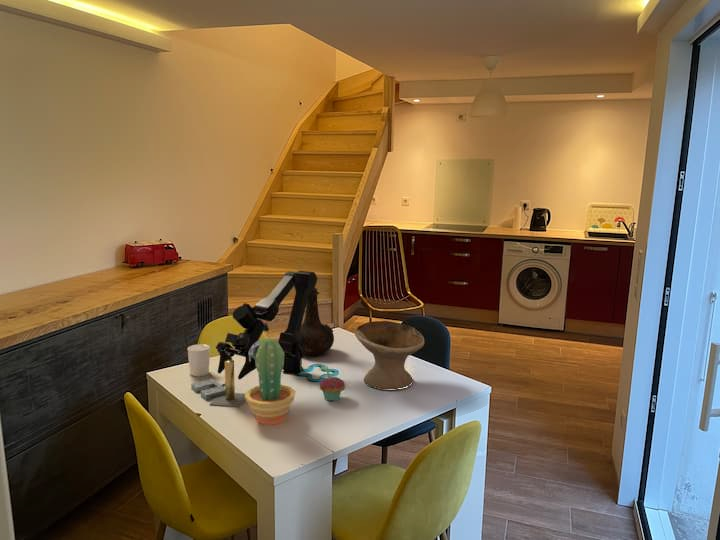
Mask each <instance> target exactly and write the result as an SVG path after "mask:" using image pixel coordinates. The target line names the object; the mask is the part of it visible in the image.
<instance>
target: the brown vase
mask: <svg viewBox="0 0 720 540" xmlns="http://www.w3.org/2000/svg"><path fill="white" fill-rule="evenodd" d="M319 294H320V292H319V291H318V288H316V287H315V288H314V290H313V291H312V292H311V293H310V294H309V296H308V300H307V304H306V308H305V312H304V318H303V321H302V325H301V329H300V334H301V337H302V344H301V345H302V346H303V347H304V348H305V350H306V355H305V356H311V357H313V356H316V357H317V356H321V355H323V354H325V353H327V352H329V350H330V349H331V348H332V347H333V345H334V342H335V335H334V330H333V328H331V327H330V326H329V325H328V324H324V323H322V322H321V319H320V314H319V305H318V295H319Z"/></svg>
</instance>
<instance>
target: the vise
mask: <svg viewBox="0 0 720 540" xmlns="http://www.w3.org/2000/svg"><path fill="white" fill-rule="evenodd" d="M190 387H191V390H192V389H193V392H195V393H200V397H201V398H202V399H204V400H205V401H209V400H214V399H215V398H216V397H217V396H220V395H224V394H225V383H221V384H220V383H219V382H217V381H216V380H215V379H213V378H209V379H205V380H201V381H197V382H194V383H191V385H190Z"/></svg>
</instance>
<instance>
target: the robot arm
mask: <svg viewBox="0 0 720 540" xmlns="http://www.w3.org/2000/svg"><path fill="white" fill-rule="evenodd" d="M317 282H318V276H317V274H316V272H315V271H310V270H309V271H308V270H301V269H300V270H298V271H286V272H285V273H284V276H283V277H282V279H281V280H280V282H278V283H277V285H276V286H275V287H274V288H273V290H272V291H271V292H270V293H269V295H268V296H267V297H266V296H265V298H262V299H260V300H259V301H258V302H257V303H255V305H254V306H253V307H252V306H251V305H250V304H249V303H245V302H244V303H243V304H242V305H240V306H238V307H237V308H236V309H234V310H233V312H232V318H233V320H235V321H236V322H237V324H238V325H240V327H242V329H244V331H243V332H240V333H239V334H234V333H232V332H231V333H230V332H227V334H226V337H225V341H220V342H218V343H217V344H216V346H215V349H216V350H217V352H218V354H219V363H218V366H217V367H218V368H217V373H218V374H219V375H220V374H221V373H222V372H223V371H225V361H226V360H233V357H234V356H235V355H236V356H240V357H243V358H245V361H244V364H243V366H242V368H241V370H240V372H239V374H238V376H237V379H238V380H240V381H241V380H242V379H243V378H245V377H246V376H247V375H249V374H250V373H252V372H253V371H255V370H257V368H256V365H255V358H253V357H252V356H251V362H250V361H249V354H248V353H249V350H250V348H251V347H252V345H253V344H254V343H256V342H259V340H260V338H261V336H262V335H263V333H264V332H269V330H270V329H269V325H268V323H266V322H273V320H275V318H276V316H277V315H278V313H279V311H280V305H281V303H282V302H283V301H284V299H285V298H286V297H287V295H288V294H289V293H290V292H291V291H292V289H293V288H294V291H295V295H294V299H293V303H292V307H291V311H290V316H289V320H288V323H287V327H286V329H285V331H284V332H283V331H281V332H280V333H279V336H278V337H279V338H278V340H277V342H278V343H279V345H280V346H281V348H282V350H283V352H284V366H283V369H282V373H283V374H294V375H295V374H296V375H298V374H297V373H300V374H301V372H302V371H303V369H304V367H303V358H304V357H305V356H307V355H306V350H305V348H304V347H303V346H302V345H301V344H302V337H301V334H300V329H301V325H302V324H303V321H304V317H305V313H306V304H307V300H308V296H309V294H310V293H311V292H312V291H313V290H314V288H316V286H317ZM263 321H266V322H263ZM301 370H302V371H301Z"/></svg>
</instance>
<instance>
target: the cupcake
mask: <svg viewBox="0 0 720 540" xmlns="http://www.w3.org/2000/svg"><path fill="white" fill-rule="evenodd" d="M326 376H327V377H325V378H323V379H321V381H320V382H319V387H318V388H319V390H321V391H322V394H323V397H324V399H325V400H326V399H327V400H326V401H328V400H336V401H338V400H339V399H340V395H341V393H342V391H344V390H345V388H346V384H345V382H344V380H343V379H341V378H340V377H337V376H330V369H329V366H328V365H327V364H326ZM337 399H338V400H337Z"/></svg>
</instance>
